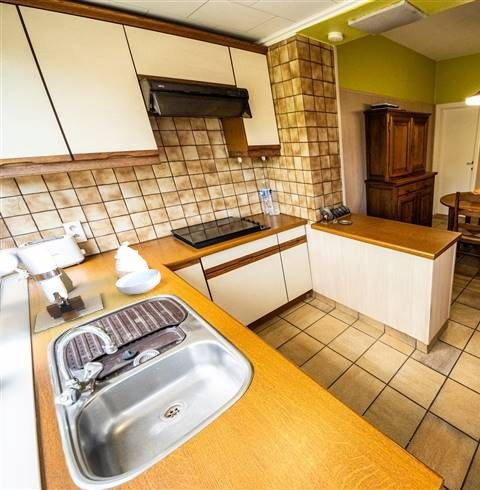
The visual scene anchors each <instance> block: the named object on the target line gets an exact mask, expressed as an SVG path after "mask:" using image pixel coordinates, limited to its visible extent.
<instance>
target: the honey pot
mask: <svg viewBox="0 0 480 490" xmlns="http://www.w3.org/2000/svg"><path fill="white" fill-rule="evenodd" d="M129 244H130V242H129V241H123V242H122V245H120V246H119V247H118V248H117V250H116V253H115V255H114V256H113V259H114V260H115V272H116V274H117V277H118V278H119V279H121V278H123V277H124V276H127V275H129V274H131V273H134V272H137V271H141V270H147V269H150V268H149V266H148V264H147V261H146V260H145V259H144V258H143V257H142V256H141V255H139V251H138V250H136V249H132V248H131V247H129V246H128V245H129Z"/></svg>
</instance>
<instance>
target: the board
mask: <svg viewBox="0 0 480 490" xmlns="http://www.w3.org/2000/svg"><path fill="white" fill-rule="evenodd" d="M82 299H83V301H84V303H85V309H83V310H80V311H77V312H78V315H79V317H77V318H74V319H72V320H69V321H66V322H65V321H64V319H63V317H60V318H58V319H54V318H53V317H51V316H50V315H49V313H48V312H47V310H46V309H45V310H43V311H40V312H38V313H36V319H35V324H34V333H35V334H38V333H39V332H43V331H45V330H48V329H51V328H54V327H56V326H60V325H61V324H65V323H67V322H70V321H73V320H75V319H78V318H79V319H80V318H82V317H84V316H87V315H89V314H92V313H96V312H98V311H101V310H103V309H105V308H104V304H103V300H102V296H101V293H100V292H98V293H95V294H92V295H89V296H86V297H83V298H82Z"/></svg>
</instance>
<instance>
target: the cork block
mask: <svg viewBox="0 0 480 490" xmlns="http://www.w3.org/2000/svg"><path fill="white" fill-rule="evenodd" d="M62 315H63V319H64V321H65V323H67V322H66V321H68V322H70V321H73V320H75V319H74V318H76V319H78V318H77V317H79V315H78V312H77V310H76V309H75V310H72V311H69V312H67V313H64V314H62ZM79 318H80V317H79ZM72 319H73V320H72ZM69 320H70V321H69Z"/></svg>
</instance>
